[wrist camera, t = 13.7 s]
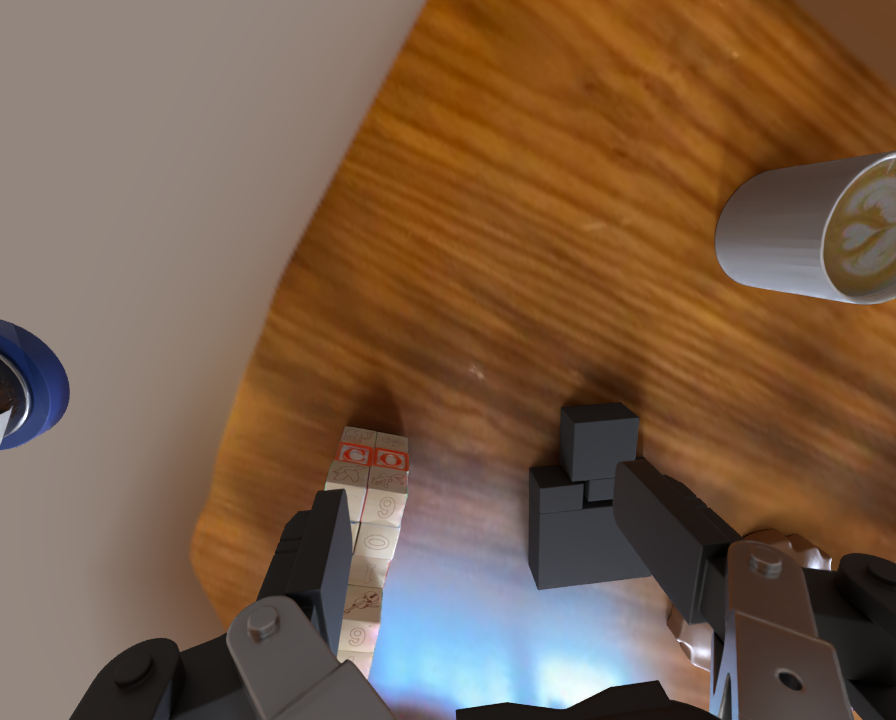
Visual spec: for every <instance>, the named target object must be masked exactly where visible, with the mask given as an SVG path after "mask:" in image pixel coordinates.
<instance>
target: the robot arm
mask: <svg viewBox="0 0 896 720" xmlns="http://www.w3.org/2000/svg"><path fill="white" fill-rule="evenodd" d="M33 405H34V397H33V391H32V388H31V385H30V382H29V380H28V378H27V376H26V375H25V373H24V372H23V371H22V369H21V368H20V367H19V366H18V365H17V364H16V363H15V362H14V361H13V360H12V359H11V358H10V357H9V356H7V355H6V354H5V353H3V352H2V351H0V445H1V442H2V438H4V437H6V436H8V435H10V434H12V433H14V432H16V431H17V430H19V429H20V428H21V427H23V426H24V425H25V423H26V422H27V421H28V419H29V418H30V416H31V413H32V410H33ZM613 515H614V519H615V522H616V524H617V526H618V528H619V530H620V531H621V532H622V534H623V535H624V536H625V538H626V539H627V541H628V542H629V543H630V545H631V546H632V547H633V549H634V550H635V552H636V553H637V554H638V556H639V557H640V559H641V560H642V561H643V563H644V564H645V565H646V567H647V568H648V570H649V571H650V572H651V574H652V575H653V577H654V578H655V579H656V581H657V582H658V583H659V585H660V586H661V588H662V589H663V590H664V592H665V593H666V595H667V596H668V597H669V599H670V600H671V601H672V603H673V604H674V606H675V607H676V608H677V610H678V611H679V612H680V614H681V615H682V617H683V618H684V619H685V621H686V622H687V624H688V625H695V624H702V623H709V624H710V626H711V627H712V628H713V633H712V639H711V673H710V712H707V711H705V710H703V709H700V708H698V707H695V706H692V705H689V704H686V703H682V702H679V701H675V700H669V698H668V696H667V695H666V693H665V691H664V689H663V688H662V686H661V684H660V682H659V680H656V681H649V682H642V683H636V684H629V685H622V686H615V687H610V688H608V689H606V690H604V691H602V692H600V693H597V694H595V695H593V696H591V697H589V698H587V699H585V700H583V701H581V702H579V703H577V704H575V705H573V706H571V707H569V708H567V709H553V708H546V707H538V706H531V705H523V704H516V703H509V702H506V703H499V704H492V705H485V706H478V707H471V708H465V709H458V710H456V720H854V717H853V713H852V709H851V707H852V708H853V709H854V710H855V711H856V713H857V714H858V715H859V716H860V717H861V718H862V719H863V720H896V564H895V563H893V562H891V561H888V560H886V559H883V558H880V557H876V556H873V555H868V554H861V553H852V554H847V555H844V556H843V557H842V558H841V560H840V563H839V567H838V570H837V571H829V570H822V569H814V568H806V567H801V566H800V565H799V564H798V563H797V562H796V561H795V560H794V559H793V558H792V557H791V556H789V555H788V554H786V553H785V552H783V551H781V550H779V549H777V548H775V547H773V546H771V545H768V544H765V543H762V542H757V541H751V540H745V539H744V538H743V537H741V536H740V535H739V534H738V533H737V532H736V531H735V530H734V529H733V528H732V527H730V526H729V525H728V524H727V523H726V522H725V521H724V520H723V519H722V518H721V517H719V516H718V515H717V514H716V513H715V512H714V511H713V510H712V509H711V508H708V507H707V505H706V504H705V503H704V502H703V501H702V500H701V499H700V498H697V497H696V495H695V494H694V493H693V492H692V491H691V490H690V489H689V488H687V487H686V486H685V485H684V484H683V483H681V482H679V481H677V480H675V479H673V478H671V477H669V476H668V475H662V474H661V473H659V472H658V471H657V470H656V469H655V468H654V467H653V466H652V465H651V464H650V463H649V462H648V461H646V460H633V461H623V462H619V463H618V464H617V466H616V471H615V483H614V494H613ZM352 550H353V542H352V530H351V523H350V516H349V508H348V501H347V494H346V490H345V489H344V488H343V489H333V490H323V491H318V492H317V494H316V497H315V500H314V503H313V506H312V509H311V510H308V511H298V512H297V513H296V515H295V516H294V517H293V518H292V519H291V520H290V521H289V522H288V523H287V524H286V525H285V528H284V531H283V533H282V536H281V538H280V542H279V543H278V546H277V548H276V551H275V555H274V556H273V559H272V561H271V564H270V566H269V569H268V571H267V574H266V577H265V579H264V582H263V584H262V587H261V589H260V592H259V595H258V597H257V600H256V602H254V603H252V604H251V605H249V606H248V607H246V608H245V609H244V610H242V611H241V612H240V613H239V614H238V615H237V616H236V618H235V619H234V620H233V621H232V623H231V625H230V627H229V629H228V631H227V633H225V634H223V635H222V636H220V637H218V638H215V639H213V640H210V641H208V642H205V643H203V644H200V645H198V646H195V647H192V648H190V649H187V650H185V651H182V652H179V649H178V646H177V644H176V643H175V642H174V641H172V640H170V639H166V638H156V639H150V640H146V641H143V642H141V643H138V644H136V645H134V646H132V647H130V648H128V649H127V650H125V651H123V652H122V653H120V654H119V655H117V656H116V657H115V658H114V659H113V660H111V661H110V662H109V663H108V664H107V665H106V666H105V667H104V668H103V669H102V670H101V671H100V673H98V675H97V676H96V678H95V679H94V681H93V682H92V684H91V685H90V687H89V689H88V690H87V692H86V693H85V695H84V697H83V698H82V700H81V701H80V703H79V704H78V706H77V708H76V709H75V711H74V712H73V714H72V716H71V717H70V719H69V720H397V718H396V717H395V716H394V714H393V713H392V712H391V710H390V709H389V708H388V707H387V705H386V704H385V703H384V701H383V700H382V699H381V697H380V696H379V695H378V693H377V692H376V691H375V689H374V688H373V687H372V686H371V684H370V683H369V682H368V680H367V679H366V678H365V676H364V675H363V674H362V672H361V671H360V670H359V668H358V667H357V666H356V665H355V664H354V663H353V662H352V661H351V660H349V659H346V660H345V661H344V662H342V663H341V662H339V660H338V659H337V653H338V647H339V640H340V633H341V627H342V620H343V614H344V607H345V600H346V594H347V587H348V580H349V574H350V567H351V561H352Z"/></svg>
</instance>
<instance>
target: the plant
mask: <svg viewBox="0 0 896 720" xmlns="http://www.w3.org/2000/svg"><path fill="white" fill-rule="evenodd" d="M744 539H745V540H751V541H757V542H762V543H765V544H768V545H771V546H773V547H775V548H777V549H779V550H781V551H783V552H785V553H786V554H788V555H789V556H791V557H792V558H793V559H794V560H795V561H796V562H797V563H798V564H799V565H800V566H801V567H806V568H814V569H822V570H829V571H831V567H830V563H831V557H830V556H829V555H828V554H826V553H825V552H824V551H822V550H821V549H820V548H818V547H817V546H814V545H813V544H812V543H810V542H809V541H808V540H806V539H805V538H804V537H802V536H801V535H799V534H794V535H791V536H788V537H785V536H784V535H782V534H781V533H780V532H778V531H777V530H775V529H770V530H763V531H759V532H755V533H752V534H750V535H748V536H746V537H744ZM667 626H668V628H669V629H670V630H671V632H672V633H673V635H674V636H675V638H676V639H677V640H678V641H680V646H681V648H682V650H683V652H684V653H685V655H686V656H687V658H688V659H689V660H690V661H691V662H692V663H693V664H694V665H696V666H698V667H700V668H703V669H705V670H706V671H708V672H710V673H711V639H712V633H713V628H712V627H711V626H710V624H709V623H702V624H695V625H688V624H687V622H686V621H685V619H684V618H683V617H682V615H681V614H680V612H679V611H678V610H677V608H676V607H675V606H674V605H673V608H672V613H671V615H670V618H669V620H668V621H667ZM851 709H852V710H853V711H855V710H854V709H853V708H852V707H851Z"/></svg>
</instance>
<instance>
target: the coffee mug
mask: <svg viewBox="0 0 896 720" xmlns="http://www.w3.org/2000/svg"><path fill="white" fill-rule="evenodd" d="M715 249H716V255H717V258H718V261H719V264H720V266H721V267H722V269H723V270H724V272H725V273H726V274H727V275H728V276H729V277H730V278H732V279H733V280H734V281H736V282H738V283H740V284H743V285H746V286H752V287H758V288H764V289H770V290H776V291H782V292H788V293H794V294H800V295H806V296H812V297H818V298H824V299H830V300H836V301H841V302H847V303H854V304H865V305H868V304H877V303H883V302H886V301H889V300H892V299H894V298H896V151H891V152H884V153H878V154H871V155H865V156H859V157H852V158H846V159H839V160H833V161H827V162H820V163H814V164H807V165H801V166H795V167H788V168H782V169H775V170H770V171H766V172H763V173H761V174H758V175H756V176H755V177H753V178H751V179H750V180H748V181H747V182H745V183H744V184H743V185H742V186H740V187H739V188H738V189H737V190H736V192H735V193H734V194H733V195H732V196H731V198H730V199H729V200H728V202H727V203H726V205H725V207H724V209H723V211H722V213H721V215H720V218H719V221H718V224H717V228H716V233H715Z"/></svg>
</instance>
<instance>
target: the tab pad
mask: <svg viewBox="0 0 896 720" xmlns="http://www.w3.org/2000/svg"><path fill="white" fill-rule="evenodd" d="M638 426H639V417H638V416H637V415H636V414H634V413H633V412H632V411H631V410H629V409H628V408H627V407H626V406H624V405H623V404H622V403H621V402H619V403H608V404H596V405H584V406H573V407H561V424H560V452H559V462H560V464H561V465H562V467H563V468H564V470H565V472H566V473H567V475H568V476H569V478H570V479H571V481H582V482H583V484H584V486H583V494H584V495H585V497H586V498H587V500H588V501H598V500H607V499H613V494H614V483H615V471H616V466H617V464H618V463H619V462H623V461H633V460H635V457H636V447H637V436H638Z"/></svg>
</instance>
